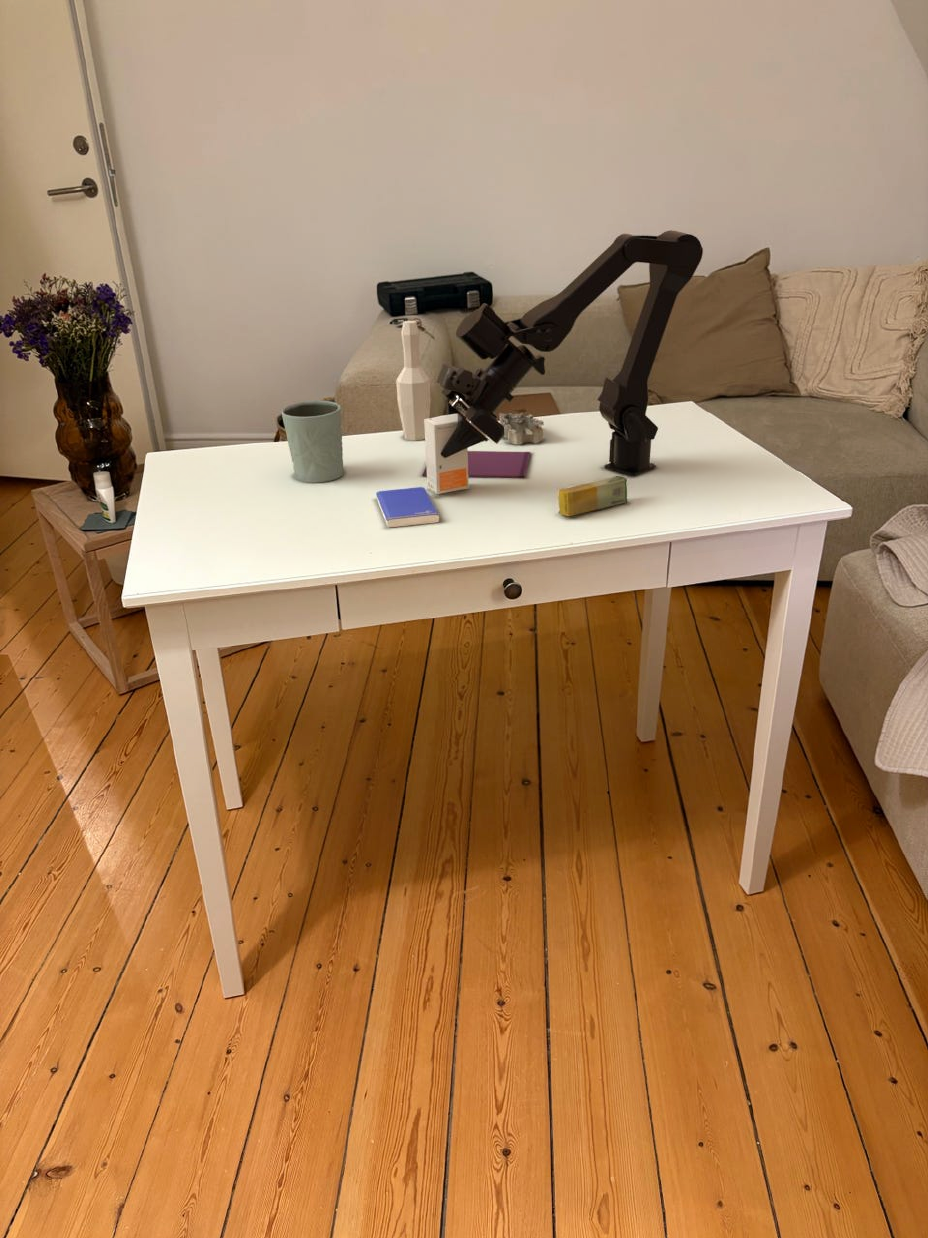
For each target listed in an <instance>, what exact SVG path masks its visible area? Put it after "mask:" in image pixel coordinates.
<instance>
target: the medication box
mask: <svg viewBox="0 0 928 1238" xmlns="http://www.w3.org/2000/svg"><path fill="white" fill-rule="evenodd" d="M627 482H628V478H626V477H623V476H619V475H616V476H611V477H608V478H607V477H606V478H603V479H600V480H595V481H591V482H587V483H583V484H578V485H574V486H570V487H569V486H568V487H566V488H561V489H558V491H557V492H558V493H557V494H558V509H559V510H558V514H559V515H563V516H565V517H573V516H577V515H581V514H584V513H588V512H593V511H598V510H600V509H604V508H609V507H612V506H613V507H614V506H617V505H621V504H624V503H625V504H627V503H628V485H627Z"/></svg>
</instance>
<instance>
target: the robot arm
mask: <svg viewBox="0 0 928 1238" xmlns="http://www.w3.org/2000/svg"><path fill="white" fill-rule="evenodd" d="M703 254H704V247H703V246H702V244H701V241H700V240H699V238H698V237H697V236H695V235H693V234H690V233H686V232H682V231H677V230H673V229H672V230H671V229H670V230H666V231H664V232H662V233H661V234H659V235H647V234H646V235H645V234H641V235H640V234H639V235H637V234H635V235H634V234H629V233H621V234H620V235H618V236H617V237H615V239H614V240H613V242H612V244H610V245H609V246H608V247H607V248H606V249H605V250H604V251H603V252H602V253H601V254H600V255H599V256H597V258H595V259H594V261H593V262H591V264H589V265H588V266H587V267H586V268H585V269H584V270H583V271H582V272H581V273H579V275H578V276H576V278H575V279H573V280H572V281H571V282H570V283H569V284H568V285H567V286H566V287H564V289H563V290H562V291H560V292H559V293H557V294H556V295H554V296H552V297H550V298H547V299H546V300H543V301H542V302H540V303H538V304H537V305H536V306H534V307H532V308H531V309H529V310H527V312H525V313H524V315H522V317H520V318H515V319H511V320H507V321H505V320H502V318H501V317H500V316H498V314H497V313H496V312H495V310H494V309H493V308H492V307H491V306H490V305H489V304H488V303H485V302H484V303H482V304H481V306H480V307H479V308H477V309H475V310H473V311H472V312H471V313H470V314H468V315H466V316H465V317H464V318H463V319H462V320H461V322H460V324H459V325H458V327H457V329H456V331H455V336H456V338H457V339H459V341H461V342H462V344H464V345H465V346H466V347H467V348H468V349H470V350H471V351H472V352H473V353H474V354H475V355H476V356H477V357H478V358H480V360H487V359H490V360H491V362H490V363H489V364H488V366H486V367H485V368H484V369H482V367H481V368H477V369H476V371H474V373H473V371H471V370H470V369H465V368H464V367H456V366H453V365H450V364H448V363H442V366H441V369H440V371H439V374H438V376H437V379H436V383H437V384H440V387H441V388H443V390H442V391H441V394H442V395H443V396H444V397H445V398H447V399H449V401H448V400H447V399H444V404H445V411H446V414H445V415H451V414H458V426H457V428H456V430H455V431H454V433H453V434H452V436H451V437H450V439H449V440H448V442H447V443H446V445H445V446H444V448H443V450H442V452H441V455H442V456H443V457H444V458H447V457H449V456H451V455H453V454H455V453H458V452H460V451H462V450H464V449H466V448H470V447H473V446H475V445H478V444H480V443H483V442H488V441H489V439H490V440H491V441H492V442H494V443H495V444H496V445H498V444H499V442H500V441H501V440H502V439H503V438H504V435H505V433H504V426H502V425H501V424H500V422H499V421H498V420H497V418H498V416H497V414H495V413H496V412H497V411H498V410H499V409H500V407H501V406H502V405H503V404H504V403H505V402H506V400H507V401H508V402H509V403H511V401H512V400H513V399H514V396H513V395H512V393H513V392H514V391H515V390H516V389H517V387H518V386H519V385H520V384H521V383H522V382H523V380H524V379H525V378H526V377H527V375H529V373H530V372H531V371H532V370H534V371H536V372H537V373H538V374H540V375H541V376H545V374H546V368H545V360H546V357H544V356H543V355H542V354H536V355H535V354H534V353H533V352H532V351H531V350H530V349H529V348H528V347H527V346H526V345H529V347H532V348H533V349H535V350H537V351H539V352H542V353H550V352H553V351H555V350H556V349H558V348H559V347H560V345H561V344H563V342H564V340H565V339H566V338H567V337H568V335H569V334H570V333H571V331H572V330H573V327H574V326H575V323H576V321H577V320H578V318H579V316H581V314H582V313H583V312H584V311H585V310H586V309H587V308H589V306H590V305H592V304H593V302H594V301H596V300H597V298H599V297H600V296H601V295H602V294H603V293H604V292H605V291H606V290H607V289H608V288H610V286H611V285H613V284H614V283H615V282H616V281H617V280H618V279H619V278H620V277H621V276H622V275H624V273H626V271H627V270H629V269H630V268H631V267H632V266H633V265H635V264H636V263H642V264H643V263H644V264H648V272H649V273H648V274H649V275H648V276H649V287H648V290H647V293H646V297H645V299H644V302H643V305H642V308H641V311H640V314H639V316H638V320H637V322H636V325H635V327H634V328H635V329H634V331H633V334H632V337H631V341H630V343H629V346H628V349H627V352H626V355H625V358H624V360H623V364H622V367H621V369H620V371H619V372H618V374H617V375H616V376H615V377H614V378H613V379H612V378H609V377H606V378H605V379H604V381H603V387H602V391H601V392H600V395H599V396H598V398H597V401H598V402H599V405H598V406H599V407H598V410H599V413H600V415H601V417H602V418H603V419H604V420H605V421H606V422H607V423H608V427H609V429H610V430H613V431H612V432H611V439H610V440H609V455H608V456H609V458H608V461H609V462H608V463H606V464H604V468H605V469H607V470H610V471H613V472H617V473H619V474H624V475H628V476H630V477H631V476H632V477H634V476H637V475H640V474H642V473H644V472H646V471H650V470H652V469H654V468H656V464H654V463H651V452H652V451H651V449H652V441H653V440H655V439H656V436H657V433H658V430H659V427H658V425H656V424H655V423H654V422H653V421H652V420H651V419H650V418H649V417H648V416H647V415H646V414H647V410H648V404H649V378H650V375H651V371H652V368H653V366H654V363H655V360H656V358H657V354H658V351H659V349H660V346H661V343H662V340H663V337H664V336H665V332H666V329H667V326H668V324H669V320H670V318H671V315H672V312H673V309H674V306H675V303H676V301H677V298H678V295H679V294H680V292H681V291H682V290H683V289H684V288H685V287H686V286H687V285H688V283H689V282H690V281H691V280H692V279H693V276H694V274H695V273H696V271H697V269H698V268H699V265H700V263H701V262H702V258H703ZM511 338H513V340H515V341H517V342H519V343H520V345H518V346H516V345H515V344H514V343H513V342H512V341H511V340H510V339H511Z"/></svg>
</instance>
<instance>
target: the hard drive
mask: <svg viewBox="0 0 928 1238" xmlns="http://www.w3.org/2000/svg"><path fill="white" fill-rule="evenodd" d="M375 495H376V497H375V498H376V501H377V504H378V506H379V509H380V511H381V514H382V516H383V518H384V521H385V524H386V526H387V527H388V528H397V527H405V526H407V527H408V526H415V525H424V524H435V523H438V522H439V521H440V513H439V512H438V510H437V508H436V506H435V504H434V502H433V501H432V499H431V497H430V495H429V493H428V492H427V490H426V488H425V487H422V486H417V487H407V488H398V489H388V490H387V489H386V490H381V491H380V490H379V491H377V492H376V493H375Z"/></svg>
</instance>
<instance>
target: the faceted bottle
mask: <svg viewBox="0 0 928 1238" xmlns="http://www.w3.org/2000/svg"><path fill="white" fill-rule="evenodd" d="M400 336H401V343H402V349H403V364H404V367H403V368H402V370H401V371H400V373H399V375H398V376H397V378H396V380H395V381H396V397H397V398H396V399H397V405H398V412H399V416H400V417H399V418H400V422H401V427H402V428H401V429H402V432H403V438H404V439H405V440H406V441H423V440H424V441H425V427H424V419H428V418H430V415H431V414H430V413H431V385H430V384H431V382H430V381H431V380H430V378H429V376H428V375H427V374H426V373H425V371H424V370H423V368H422V367H421V365H420V364H421V363H420V361H421V360H420V329H419V328H418V324H417V321H416V320H405V321H403V323H402V328H401V332H400Z"/></svg>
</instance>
